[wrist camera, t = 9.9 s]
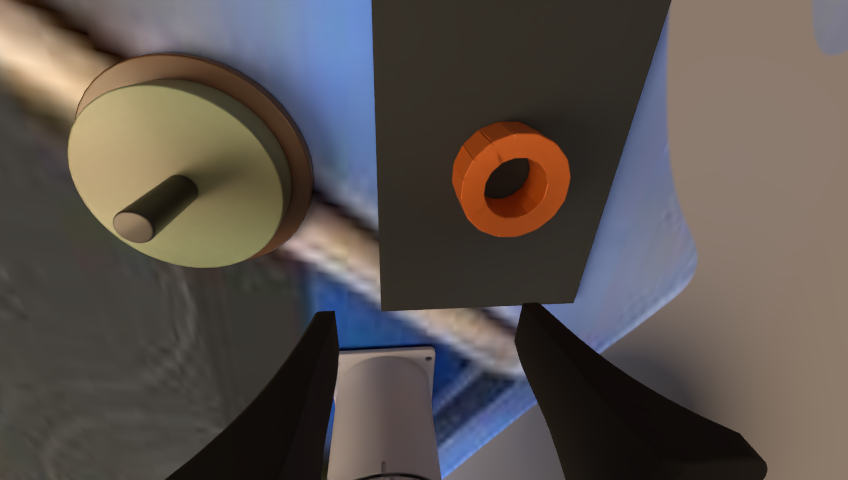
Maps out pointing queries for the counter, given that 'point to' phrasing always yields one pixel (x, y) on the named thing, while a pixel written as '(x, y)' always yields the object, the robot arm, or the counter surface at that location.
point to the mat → (487, 104)
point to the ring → (532, 199)
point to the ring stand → (189, 160)
